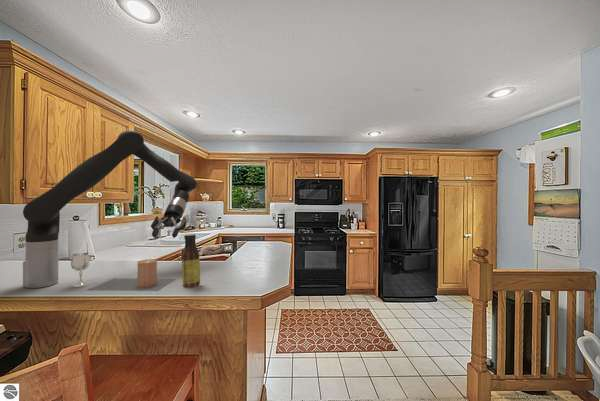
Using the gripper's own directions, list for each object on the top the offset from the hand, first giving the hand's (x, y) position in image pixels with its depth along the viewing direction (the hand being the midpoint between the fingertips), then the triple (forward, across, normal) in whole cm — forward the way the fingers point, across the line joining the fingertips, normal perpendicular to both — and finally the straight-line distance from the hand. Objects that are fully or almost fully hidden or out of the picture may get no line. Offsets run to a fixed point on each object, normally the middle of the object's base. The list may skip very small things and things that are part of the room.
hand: (163, 236), depth 115 cm
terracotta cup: (+20, 0, +3) cm, 21 cm away
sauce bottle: (+21, +17, +4) cm, 27 cm away
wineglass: (+21, -26, +4) cm, 34 cm away
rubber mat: (+21, -5, +4) cm, 22 cm away
